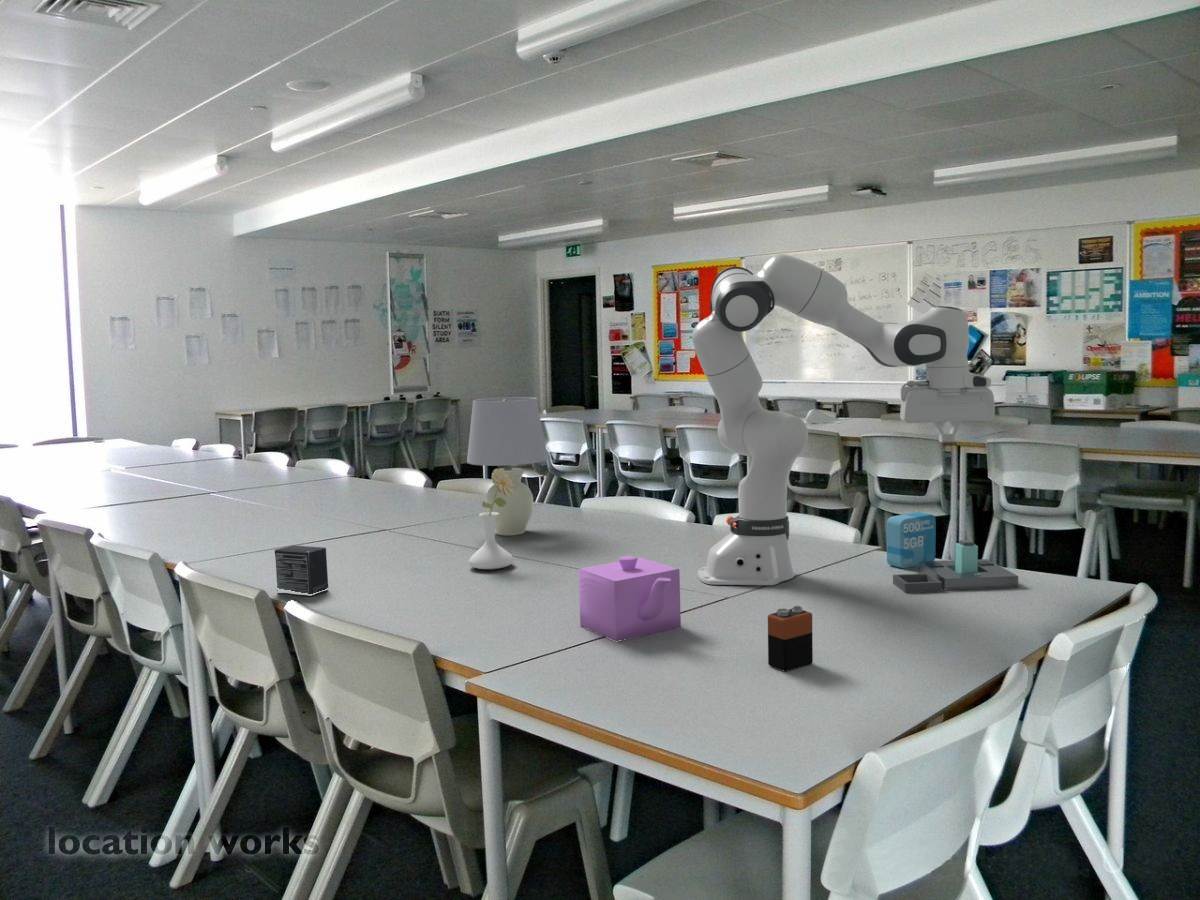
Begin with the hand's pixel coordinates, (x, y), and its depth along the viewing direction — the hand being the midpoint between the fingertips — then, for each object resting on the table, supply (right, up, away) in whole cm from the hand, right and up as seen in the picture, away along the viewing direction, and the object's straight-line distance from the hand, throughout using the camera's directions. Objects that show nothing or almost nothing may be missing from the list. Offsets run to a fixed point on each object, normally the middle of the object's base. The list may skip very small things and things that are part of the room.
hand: (946, 441), depth 212 cm
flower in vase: (-104, -32, +29) cm, 113 cm away
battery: (-45, -39, -50) cm, 78 cm away
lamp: (-104, -27, +72) cm, 129 cm away
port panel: (+5, -31, +2) cm, 31 cm away
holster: (-8, -32, -4) cm, 33 cm away
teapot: (-71, -37, -26) cm, 84 cm away
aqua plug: (+5, -31, +2) cm, 31 cm away
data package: (-2, -30, +17) cm, 34 cm away
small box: (-147, -35, +10) cm, 152 cm away
